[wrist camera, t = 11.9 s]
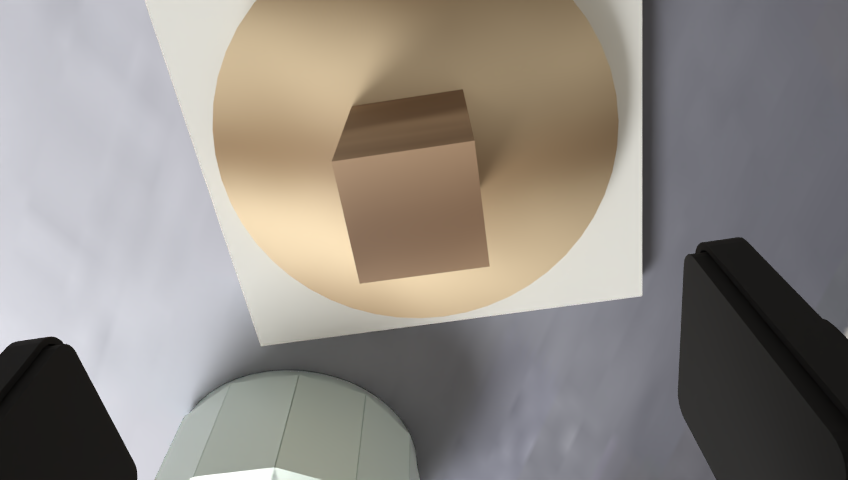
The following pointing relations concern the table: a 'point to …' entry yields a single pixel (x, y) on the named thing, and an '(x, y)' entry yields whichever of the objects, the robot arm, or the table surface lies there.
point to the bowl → (290, 433)
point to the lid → (415, 145)
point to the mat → (321, 317)
